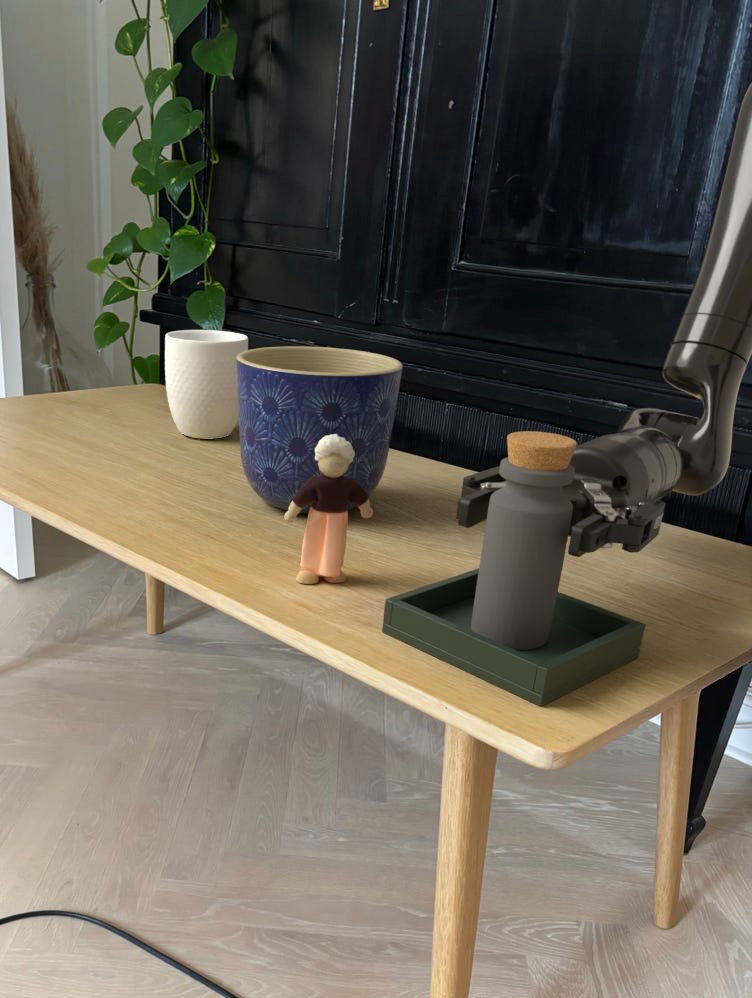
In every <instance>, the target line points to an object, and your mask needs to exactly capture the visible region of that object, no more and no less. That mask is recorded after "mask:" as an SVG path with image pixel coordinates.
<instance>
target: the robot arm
mask: <svg viewBox="0 0 752 998" xmlns="http://www.w3.org/2000/svg"><path fill="white" fill-rule="evenodd" d="M706 243H707V244H706V245H705V249H704V253H703V256H702V260H701V262H700V266H699V269H698V273H697V275H696V278H695V280H694V284H693V287H692V289H691V292H690V293H689V294H690V295H689V297H688V300H687V303H686V305H685V307H684V310H683V312H682V315H681V317H680V319H679V322H678V325H677V327H676V330H675V332H674V335H673V338H672V340H671V342H670V345H669V348H668V350H667V353H666V356H665V358H664V361H663V364H662V370H661V372H662V373H661V374H662V377H663V379H664V381H665V382H666V383H668V385H670V386H672V387H674V388H675V389H677V390H679V391H681V392H683V393H686V394H688V395H691V396H692V397H695V398H696V399H698V400H700V401H701V403H702V413H701V415H700V417H696V416H692V415H688V414H683V413H678V412H674V411H668V410H665V409H660V408H654V407H640V408H635V409H633V410H631V411H629V412H627V414H626V415H625V416H624V417H623V418H622V420H621V422H620V424H619V425H618V427H617V429H616V432H615V433H609V434H605V435H601V436H599V437H596V438H593V439H591V440H588V441H585V442H583V443H581V444H579V445H578V444H577V445H576V448H575V451H574V453H573V455H572V458H571V460H570V463H569V464H570V465H572V466H573V467H574V469H575V473H574V478H573V482H572V483H571V484H569V485H566V486H563V492H562V494H563V495H565V496H566V497H567V498H568V499H569V500H570V501H571V503H572V505H573V512H572V518H571V523H570V529H569V534H568V538H569V537H570V539H569V544H568V548H567V549H568V550H567V554H568V555H569V556H573V557H577V558H580V557H583V555H585V554H591V553H595V552H596V551H598V550H599V549H611V548H612V547H613V544H621V545H622V547H621V549H622V550H623V551H625V552H627V553H640V551H642V550H643V549H644V548H645V547H646V546H648V544H650V543H651V542H652V541H653V540H654V539H656V538H657V537H658V536H659V533H660V529H661V525H662V521H663V517H664V512H665V507H666V502H665V501H663V500H662V499H664V498H665V497H666V496H668V495H669V494H671V492H674V493H678V494H682V495H686V496H693V497H699V496H703V495H706V494H708V493H709V492H711V491H712V490H713V489H715V488H716V487H717V486H718V485H719V484H720V483H721V482H722V480H723V479H724V477H725V476H726V474H727V471H728V468H729V464H730V459H731V453H732V441H733V426H734V419H735V418H734V417H735V409H736V404H737V399H738V395H739V394H738V393H739V390H740V386H741V382H742V381H743V376H744V374H745V372H746V369H747V366H748V364H749V361H750V359H751V356H752V82H751V83H750V84H749V85H748V88H747V90H746V92H745V93H744V96H743V99H742V102H741V104H740V107H739V111H738V114H737V118H736V122H735V128H734V130H733V135H732V140H731V145H730V151H729V155H728V160H727V164H726V169H725V173H724V176H723V181H722V184H721V189H720V193H719V197H718V201H717V205H716V208H715V213H714V217H713V220H712V224H711V228H710V232H709V236H708V239H707V242H706ZM499 469H500V466H495V467H491V468H489V469H485V470H482V471H479V472H477V473H473V474H470V475H466V476H464V477H463V479H462V480H463V481H462V487H461V495H460V497H459V498H458V501H457V509H456V517H455V519H457V525H458V526H459V527H461V528H462V527H463V528H467V529H470V528H471V527H474V526H476V525H478V524H480V523H483V522H484V521H485V522H486V520H487V514H488V508H489V502H490V497H491V495H492V494H493V493H494V492H495V491H497V490H499V489H501V488H503V487H505V484H506V479H505V478H503V477H502V476H501V475H500V474H499Z"/></svg>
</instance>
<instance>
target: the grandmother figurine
mask: <svg viewBox="0 0 752 998" xmlns="http://www.w3.org/2000/svg"><path fill="white" fill-rule="evenodd" d="M315 455H316V456H315V460H316V461H318V466H319V469H320V471H321V472H322V473H323V474H321V475H317V476H313V477H311V478H310V479H309V480H308V481H307V482H306V483H305V484H304V485H303V486H302V488H301V489H300V490H299V491H298V492H297V493H296V495H295V496H294V497H293V499H292V502H291V504H290V506H289V508H288V511H287V510H286V512H285V513H284V515H283V519H284V521H285V522H287V523H289V524H291V523H294V522H295V521H296V519H297V515H298V514H300V513H299V512H300V510H301V509H302V507H304V506H306V505H309V504H311V508H310V511H309V514H307V518H306V525H305V529H304V534H303V540H302V546H301V556H300V557H301V558H300V563H299V566H300V570H299V572H298V573H297V576H296V578H295V581H297V583H299V584H303V585H313V584H314V585H315V584H317V583H319V580H320V578H319V576H322V578H323V580H324V581H325V582H328V583H333V584H338V583H344V582H346V581H347V577H346V574H345V573H344V572H343V571H342V568H343V566H344V562H345V553H346V546H347V536H348V535H347V533H348V524H349V523H348V522H349V510H347V502H349V503H352V504H355V505H357V506H356V507H358V509H359V510H360V514H361V517H362V518H363V519H370V518H371V517H373V515H374V510H373V508H372V507H371V503H370V499H369V497H370V496H369V495H368V493H367V492H366V491H365V490H364V488H363V487H362V486H361V485H360V484H359V483H357V482H356V481H354V480H352V479H351V478H348V477H345V476H342V475H343V474H344V473H345V472H346V471H347V469H348V466H349V464H350V463H351V462H352V461H353V458H354V456H355V452H354V450H353V448H352V445H351V443H350V442H348V441H346V440H345V438H342V437H339V436H338V434H333V435H328V436H325V437H323V438H322V439H321V440H320V441H319V443H318V445H317V446H316V448H315Z"/></svg>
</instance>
